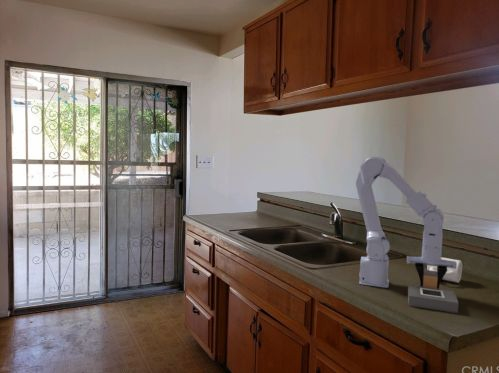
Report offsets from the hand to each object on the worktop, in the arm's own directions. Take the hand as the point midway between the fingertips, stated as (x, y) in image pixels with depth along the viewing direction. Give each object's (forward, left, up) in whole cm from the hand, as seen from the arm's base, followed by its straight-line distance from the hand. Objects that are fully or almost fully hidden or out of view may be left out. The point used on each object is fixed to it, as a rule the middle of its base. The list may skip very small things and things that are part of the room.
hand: (429, 287), depth 125 cm
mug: (+6, +16, -2) cm, 18 cm away
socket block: (0, -10, -2) cm, 10 cm away
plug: (0, 0, -2) cm, 2 cm away
